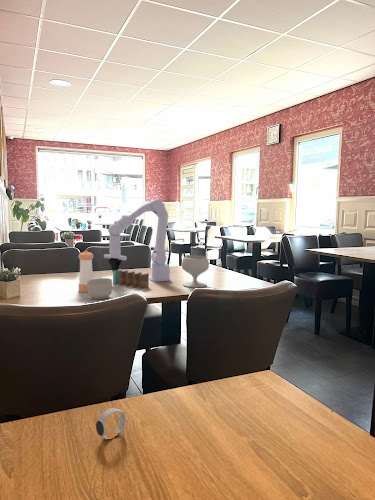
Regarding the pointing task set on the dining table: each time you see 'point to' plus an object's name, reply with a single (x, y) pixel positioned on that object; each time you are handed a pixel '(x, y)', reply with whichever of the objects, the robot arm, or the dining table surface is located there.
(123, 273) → the domino
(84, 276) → the salt shaker
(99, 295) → the teacup
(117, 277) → the domino
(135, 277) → the domino
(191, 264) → the chalice
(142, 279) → the domino
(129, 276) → the brown wooden block
